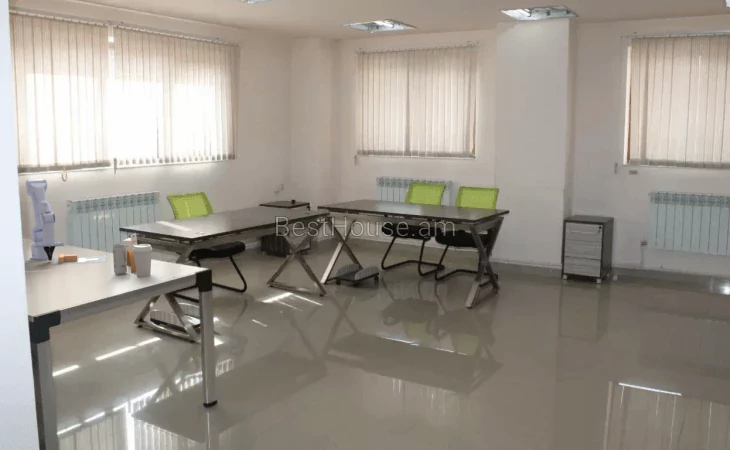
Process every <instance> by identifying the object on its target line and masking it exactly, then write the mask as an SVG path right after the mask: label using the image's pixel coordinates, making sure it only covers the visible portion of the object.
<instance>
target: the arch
mask: <svg viewBox="0 0 730 450" xmlns="http://www.w3.org/2000/svg"><path fill="white" fill-rule="evenodd" d="M126 260H127V261H126V264H127V266H130V270H131V271H130V272H131V273H133V274H135V273H136V267H135V260H134V253H133V251H132V250H127V257H126Z"/></svg>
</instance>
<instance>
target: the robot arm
mask: <svg viewBox="0 0 730 450" xmlns="http://www.w3.org/2000/svg"><path fill="white" fill-rule="evenodd" d="M25 189H26V190H25V191H26V194H27V196H28V197H30V198H31V202H32V203H31V204H32V209H33V216H34V222H35V223H34V224H35V225H34V227H32V228H31V230H30V232H31V234H30V237H31V242H32V244H31V247H30V248H31V251H30V252H31V259H35V260H41V261H42V260H43V261H44V260H48V261H52V260H53V259H54V256H53V254H54V251H55V249H56V247H63V248H64V247H65V241H64V242H61V241H60V242H56V235H55V223H56V216H55V213H54V211H53V210H52V208H51V204H50V202H49V201H47V198H46V192H47V190H48V182H47V179H46V178H38V179H37V178H36V179H34V178H33V179H28V178H27V179H26V180H25Z"/></svg>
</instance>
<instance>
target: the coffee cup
mask: <svg viewBox="0 0 730 450" xmlns="http://www.w3.org/2000/svg"><path fill="white" fill-rule="evenodd" d="M132 251H133V253H134V260H135V267H136V272H135V273H136V277H139V278H146V277H150V276H151V271H152V270H151V269H152V252H153V247H152V245H151V244H148V243H141V244H137V245H135V246H134V247H133V249H132Z"/></svg>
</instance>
